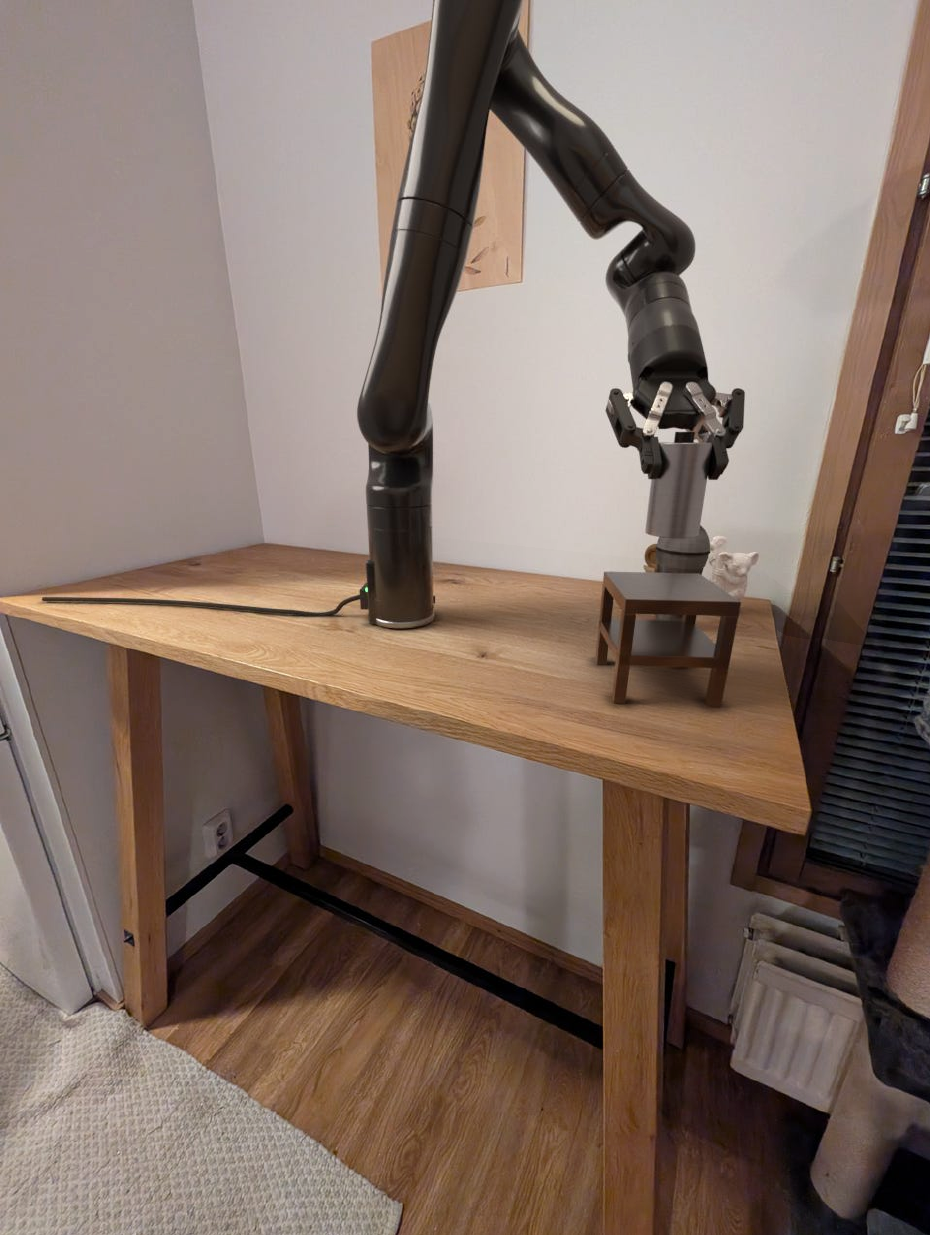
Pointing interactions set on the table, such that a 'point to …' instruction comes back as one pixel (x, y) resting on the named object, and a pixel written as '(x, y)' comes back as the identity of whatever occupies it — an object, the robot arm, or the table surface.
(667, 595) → the stand
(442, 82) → the robot arm
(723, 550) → the koala figurine
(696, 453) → the silver metal canister
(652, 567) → the snail figurine
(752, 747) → the table surface
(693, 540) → the beverage cup
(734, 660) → the table surface
